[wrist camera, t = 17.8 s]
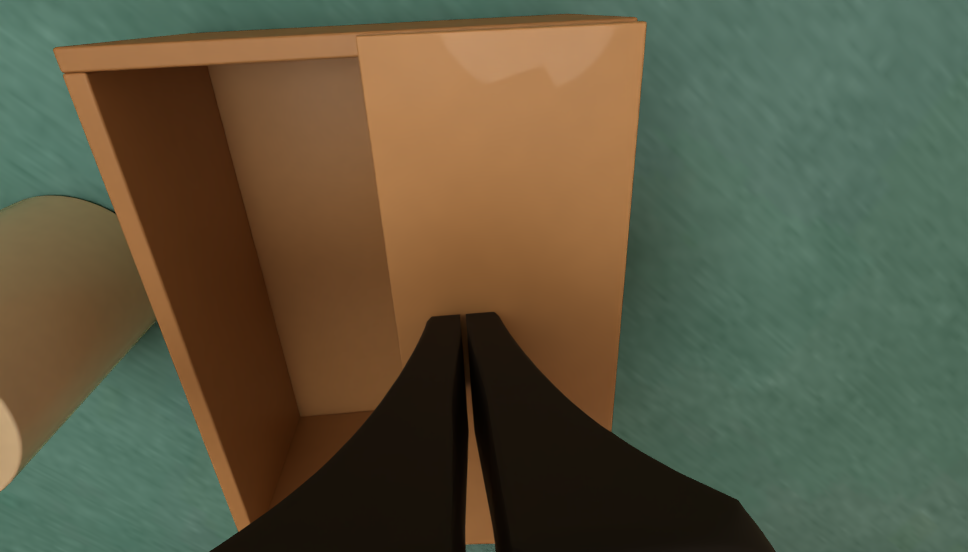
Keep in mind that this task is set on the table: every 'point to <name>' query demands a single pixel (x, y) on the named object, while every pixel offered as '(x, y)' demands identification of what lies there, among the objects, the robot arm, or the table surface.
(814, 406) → the table surface
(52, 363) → the bottle
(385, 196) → the flap
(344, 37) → the carton
